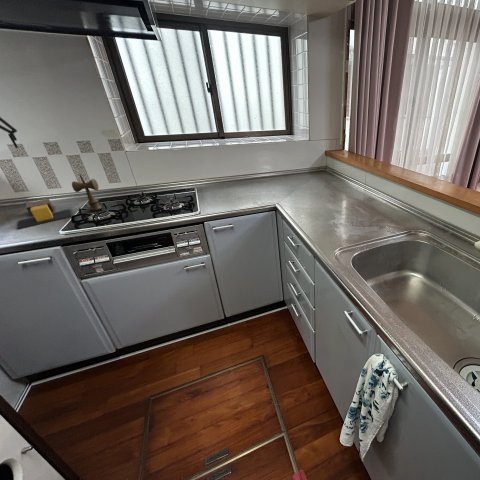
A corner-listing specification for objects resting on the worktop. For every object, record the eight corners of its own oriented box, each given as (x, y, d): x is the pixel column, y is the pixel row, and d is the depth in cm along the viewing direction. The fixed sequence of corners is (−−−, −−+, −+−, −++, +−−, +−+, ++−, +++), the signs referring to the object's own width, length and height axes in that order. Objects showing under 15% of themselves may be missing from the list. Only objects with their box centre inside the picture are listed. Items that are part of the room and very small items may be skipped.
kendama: (105, 210, 145) (89, 174, 135) (84, 213, 142) (65, 176, 132) (108, 206, 150) (92, 171, 140) (87, 209, 147) (70, 173, 137)
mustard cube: (37, 221, 133) (30, 210, 129) (37, 218, 136) (30, 207, 133) (53, 218, 136) (46, 207, 133) (52, 214, 140) (46, 204, 137)
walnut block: (31, 216, 139) (25, 207, 137) (31, 211, 145) (26, 203, 143) (54, 211, 145) (49, 203, 142) (53, 206, 150) (48, 198, 148)
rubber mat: (17, 229, 127) (17, 228, 127) (19, 221, 134) (18, 220, 134) (71, 216, 138) (71, 215, 138) (69, 210, 146) (69, 209, 146)
